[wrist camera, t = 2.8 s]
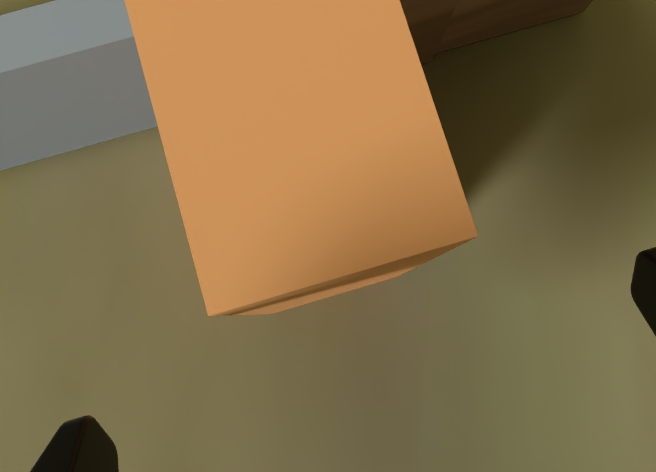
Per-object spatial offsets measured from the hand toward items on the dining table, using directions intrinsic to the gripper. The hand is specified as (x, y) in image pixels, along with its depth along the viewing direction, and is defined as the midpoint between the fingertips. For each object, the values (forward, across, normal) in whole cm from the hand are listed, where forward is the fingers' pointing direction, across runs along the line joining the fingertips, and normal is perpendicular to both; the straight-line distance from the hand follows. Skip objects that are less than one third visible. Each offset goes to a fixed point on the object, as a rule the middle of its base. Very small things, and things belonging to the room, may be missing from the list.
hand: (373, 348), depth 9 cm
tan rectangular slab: (+11, 0, +5) cm, 12 cm away
